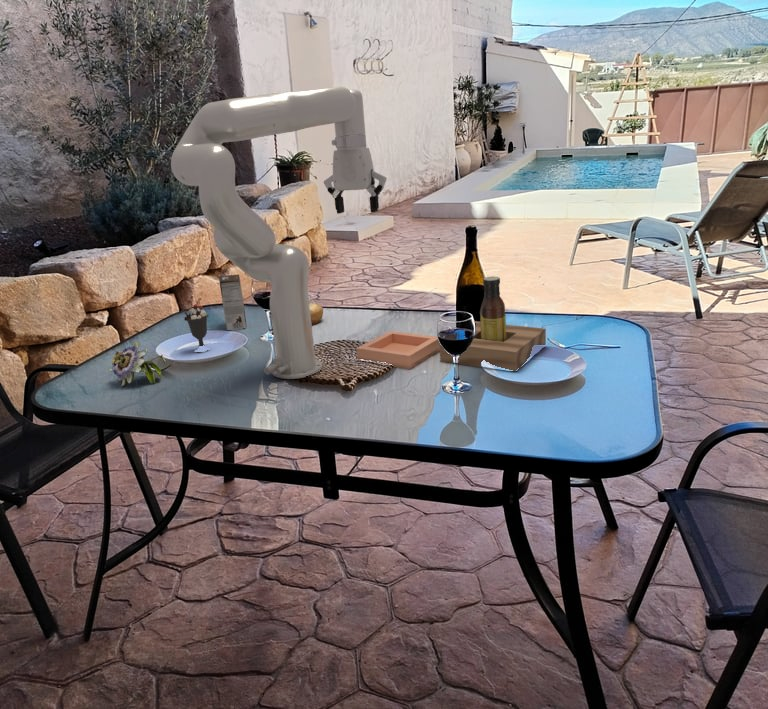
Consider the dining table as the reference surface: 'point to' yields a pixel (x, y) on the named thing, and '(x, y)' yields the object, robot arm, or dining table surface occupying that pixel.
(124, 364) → the passion flower
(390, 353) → the tray
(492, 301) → the sauce bottle
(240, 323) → the coffee box
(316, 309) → the pastry
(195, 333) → the sundae
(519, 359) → the holder block
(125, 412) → the dining table surface
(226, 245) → the robot arm
